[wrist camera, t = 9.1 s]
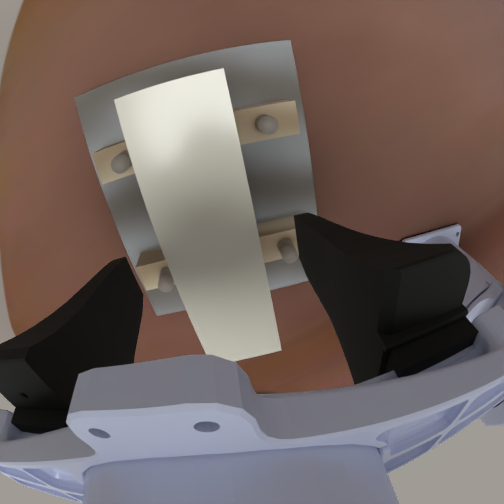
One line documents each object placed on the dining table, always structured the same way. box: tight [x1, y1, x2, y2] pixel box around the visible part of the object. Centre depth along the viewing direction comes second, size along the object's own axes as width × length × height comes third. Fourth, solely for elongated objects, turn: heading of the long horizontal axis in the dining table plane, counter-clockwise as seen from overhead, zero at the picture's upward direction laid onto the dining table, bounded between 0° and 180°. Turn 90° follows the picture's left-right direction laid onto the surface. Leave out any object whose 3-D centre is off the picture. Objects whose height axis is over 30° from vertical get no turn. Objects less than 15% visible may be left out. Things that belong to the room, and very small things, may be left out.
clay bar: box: [114, 68, 281, 361], centre depth 15 cm, size 14×4×6 cm, turn 11°
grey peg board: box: [75, 40, 317, 316], centre depth 18 cm, size 18×14×4 cm
